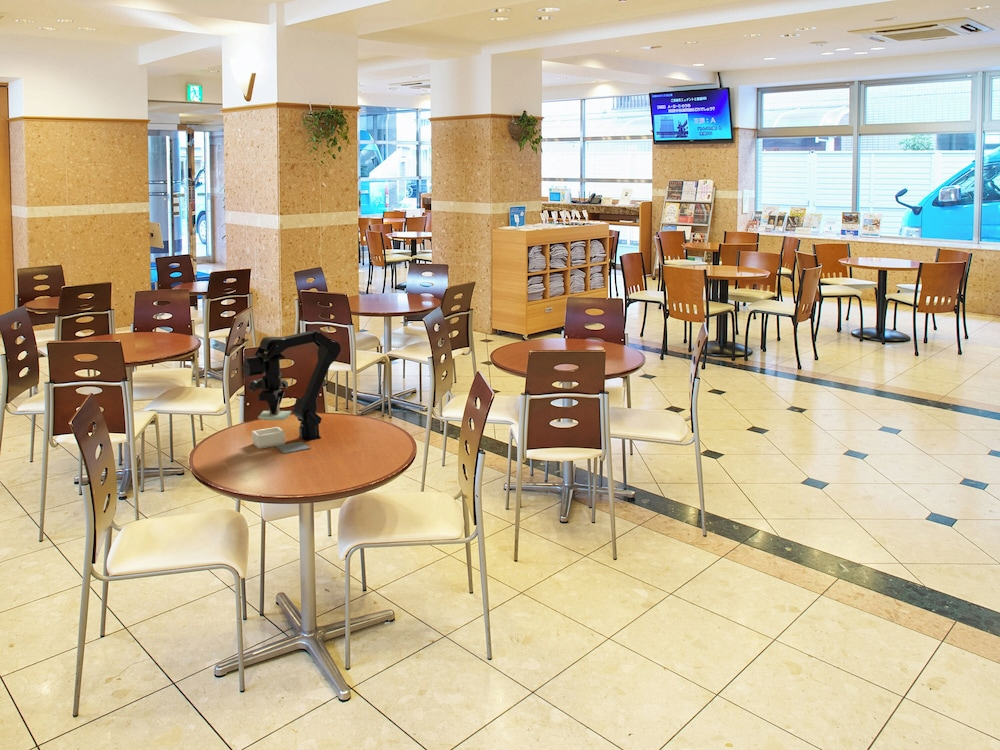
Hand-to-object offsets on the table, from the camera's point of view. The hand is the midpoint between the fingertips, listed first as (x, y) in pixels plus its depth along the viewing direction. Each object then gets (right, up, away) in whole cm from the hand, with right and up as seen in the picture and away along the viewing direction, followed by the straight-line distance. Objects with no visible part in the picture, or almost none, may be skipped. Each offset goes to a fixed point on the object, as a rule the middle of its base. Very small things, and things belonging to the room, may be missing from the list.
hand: (274, 412), depth 322 cm
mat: (+7, -13, 0) cm, 15 cm away
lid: (0, -1, 0) cm, 1 cm away
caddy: (-3, -12, +4) cm, 13 cm away
